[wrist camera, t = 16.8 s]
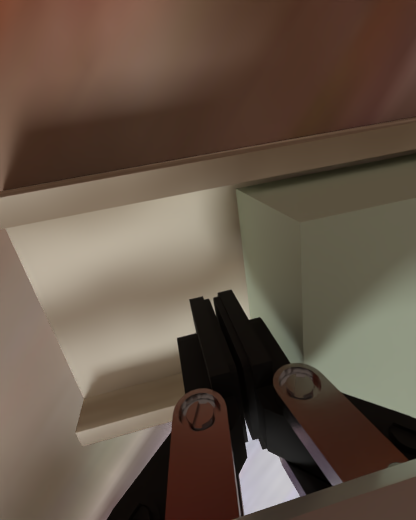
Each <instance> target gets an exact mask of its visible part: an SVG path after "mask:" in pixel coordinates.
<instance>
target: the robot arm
mask: <svg viewBox="0 0 416 520" xmlns="http://www.w3.org/2000/svg"><path fill="white" fill-rule="evenodd" d="M217 295H218V296H217V297H213V301H214V307H215V312H214V309H213V307H212V304H211V302H210V299H205V300H204V298H203V296H201V297H197V298H193V299H189V302H190V306H191V311H192V316H193V321H194V325H195V330H196V333H194V334H190V335H186V336H182V337H179V338H177V344H178V350H179V357H180V363H181V370H182V377H183V383H184V390H185V395H184V396H183V397H182V398H181V399H179V401H178V402H177V404H176V406H175V407H174V411H173V418H172V431H171V433H170V434H169V436H168V437H167V438H166V440H165V441H164V442H163V444H162V445H161V446H160V448H159V449H158V450H157V452H156V453H155V454H154V456H153V457H152V458H151V460H150V461H149V462H148V464H147V465H146V466H145V468H144V469H143V470H142V472H141V473H140V474H139V476H138V477H137V478H136V480H135V481H134V482H133V484H132V485H131V486H130V488H129V489H128V490H127V492H126V493H125V494H124V495H123V497H122V498H121V499H120V501H119V502H118V503H117V505H116V506H115V507H114V509H113V510H112V512H111V514H110V515H109V517H108V519H107V520H416V418H413V417H411V416H409V415H406V414H403V413H400V412H397V411H394V410H391V409H388V408H386V407H383V406H380V405H377V404H374V403H371V402H368V401H365V400H362V399H359V398H356V397H353V396H350V395H347V394H345V393H342V392H340V391H339V390H338V389H337V388H336V387H335V386H334V385H333V384H332V383H331V382H330V381H329V380H328V379H327V378H326V377H325V376H324V375H323V374H322V373H321V372H320V371H318V370H317V369H316V368H314V367H312V366H310V365H308V364H303V363H290V361H289V360H288V358H287V357H286V355H285V354H284V352H283V351H282V349H281V347H280V346H279V344H278V343H277V341H276V340H275V338H274V337H273V335H272V334H271V332H270V330H269V329H268V327H267V326H266V324H265V323H264V321H263V320H262V319H261V318H260V317H258V318H254V319H250V320H249V319H248V317H247V316H246V314H245V312H244V310H243V309H242V307H241V305H240V303H239V302H238V300H237V298H236V296H235V295H234V293H233V291H232V290H227V291H222V292H218V293H217ZM215 313H216V314H215ZM245 420H246V423H247V426H248V429H249V432H250V435H251V437H252V439H253V440H255V439H259V441H260V444H261V447H262V449H268V451H269V452H271V453H273V454H275V455H277V456H279V458H280V461H281V463H282V466H283V467H284V469H285V471H286V473H287V474H288V476H289V478H290V480H291V481H292V483H293V485H294V486H295V488H296V490H297V492H298V493H299V495H300V497H299V498H296V499H293V500H290V501H287V502H284V503H281V504H278V505H275V506H272V507H269V508H266V509H263V510H260V511H257V512H254V513H251V514H248V515H244V508H243V500H242V493H241V485H240V478H239V473H240V471H241V469H242V467H243V465H244V463H245V461H246V459H247V452H246V446H245V442H248V438H247V431H246V425H245Z"/></svg>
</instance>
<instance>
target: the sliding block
mask: <svg viewBox="0 0 416 520" xmlns="http://www.w3.org/2000/svg"><path fill="white" fill-rule="evenodd" d="M236 197H237V206H238V214H239V223H240V232H241V240H242V249H243V258H244V266H245V275H246V284H247V293H248V301H249V310H250V319H254V318H258V317H260V318H261V319H262V320H263V321H264V323H265V324H266V326H267V327H268V329H269V330H270V332H271V334H272V335H273V337H274V338H275V340H276V341H277V343H278V344H279V346H280V347H281V349H282V351H283V352H284V354H285V355H286V357H287V358H288V360H289V361H290V363H303V364H308V365H310V366H312V367H314V368H316V369H317V370H318V371H320V372H321V373H322V374H323V375H324V376H325V377H326V378H327V379H328V380H329V381H330V382H331V383H332V384H333V385H334V386H335V387H336V388H337V389H338V390H339V391H340V392H342V393H345V394H347V395H350V396H353V397H356V398H359V399H362V400H365V401H368V402H371V403H374V404H377V405H380V406H383V407H386V408H388V409H391V410H394V411H397V412H400V413H403V414H406V415H409V416H411V417H413V418H416V153H415V154H410V155H405V156H400V157H395V158H390V159H385V160H380V161H374V162H369V163H364V164H359V165H354V166H349V167H344V168H339V169H334V170H328V171H323V172H318V173H313V174H308V175H303V176H298V177H293V178H287V179H282V180H277V181H272V182H267V183H262V184H257V185H252V186H247V187H241V188H236Z"/></svg>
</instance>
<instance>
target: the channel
mask: <svg viewBox="0 0 416 520" xmlns="http://www.w3.org/2000/svg"><path fill="white" fill-rule="evenodd" d="M415 153H416V117H412V118H406V119H401V120H395V121H390V122H384V123H378V124H373V125H367V126H362V127H356V128H350V129H345V130H339V131H334V132H328V133H323V134H317V135H311V136H306V137H300V138H295V139H289V140H283V141H278V142H272V143H267V144H261V145H256V146H250V147H244V148H239V149H233V150H228V151H222V152H216V153H211V154H205V155H200V156H194V157H189V158H183V159H177V160H172V161H166V162H161V163H155V164H149V165H144V166H138V167H133V168H127V169H121V170H116V171H110V172H105V173H99V174H94V175H88V176H82V177H77V178H71V179H66V180H60V181H54V182H49V183H43V184H38V185H32V186H27V187H21V188H15V189H10V190H4V191H0V229H6V231H7V233H8V235H9V237H10V239H11V242H12V244H13V246H14V248H15V250H16V252H17V255H18V257H19V259H20V261H21V263H22V265H23V268H24V270H25V272H26V274H27V276H28V278H29V281H30V283H31V285H32V287H33V289H34V291H35V294H36V296H37V298H38V300H39V302H40V304H41V307H42V309H43V311H44V313H45V315H46V317H47V320H48V322H49V324H50V326H51V328H52V330H53V333H54V335H55V337H56V339H57V341H58V343H59V346H60V348H61V350H62V352H63V354H64V356H65V359H66V361H67V363H68V365H69V367H70V370H71V372H72V374H73V376H74V378H75V380H76V383H77V385H78V387H79V389H80V391H81V393H82V396H83V398H84V401H83V405H82V409H81V413H80V417H79V421H78V425H77V429H76V435H77V437H78V439H79V441H80V443H81V445H82V447H83V446H86V445H90V444H93V443H97V442H100V441H104V440H107V439H111V438H115V437H118V436H122V435H125V434H129V433H132V432H136V431H139V430H143V429H146V428H150V427H153V426H157V425H160V424H164V423H167V422H171V421H172V418H173V411H174V407H175V406H176V404H177V402H178V401H179V399H181V398H182V397H183V396H184V395H185V390H184V383H183V377H182V370H181V363H180V357H179V350H178V344H177V338H179V337H182V336H186V335H190V334H194V333H196V330H195V325H194V321H193V316H192V311H191V306H190V302H189V299H193V298H197V297H201V296H203V298H204V300H205V299H210V302H211V304H212V307H213V309H214V312H215V307H214V301H213V297H217V296H218V295H217V293H218V292H222V291H227V290H232V291H233V293H234V295H235V296H236V298H237V300H238V302H239V303H240V305H241V307H242V309H243V310H244V312H245V314H246V316H247V317H248V319H249V320H250V310H249V301H248V293H247V284H246V275H245V266H244V258H243V249H242V240H241V232H240V223H239V214H238V206H237V197H236V188H241V187H247V186H252V185H257V184H262V183H267V182H272V181H277V180H282V179H287V178H293V177H298V176H303V175H308V174H313V173H318V172H323V171H328V170H334V169H339V168H344V167H349V166H354V165H359V164H364V163H369V162H374V161H380V160H385V159H390V158H395V157H400V156H405V155H410V154H415ZM215 314H216V313H215Z"/></svg>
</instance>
